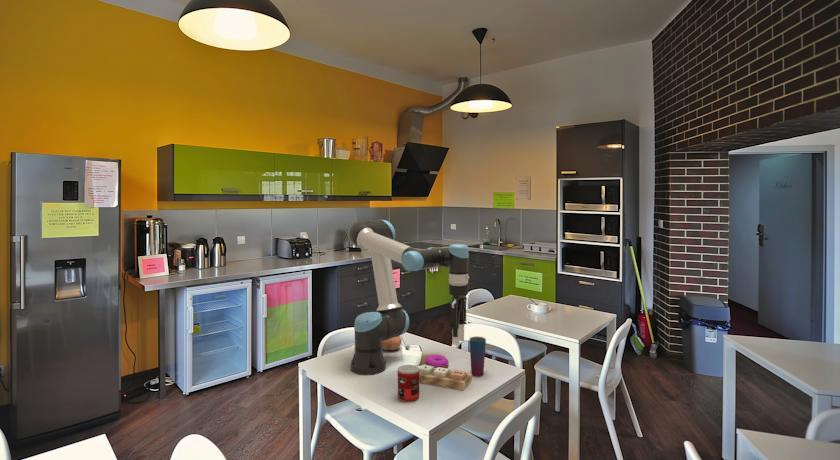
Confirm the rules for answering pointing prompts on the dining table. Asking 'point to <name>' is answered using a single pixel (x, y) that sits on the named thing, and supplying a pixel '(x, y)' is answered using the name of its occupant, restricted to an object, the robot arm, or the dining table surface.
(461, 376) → the button
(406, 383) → the canned food
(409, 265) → the robot arm
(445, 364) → the donut
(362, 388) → the dining table surface
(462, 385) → the panel
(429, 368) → the button
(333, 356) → the dining table surface
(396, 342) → the orange pumpkin
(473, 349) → the cup
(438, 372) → the button
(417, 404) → the dining table surface
